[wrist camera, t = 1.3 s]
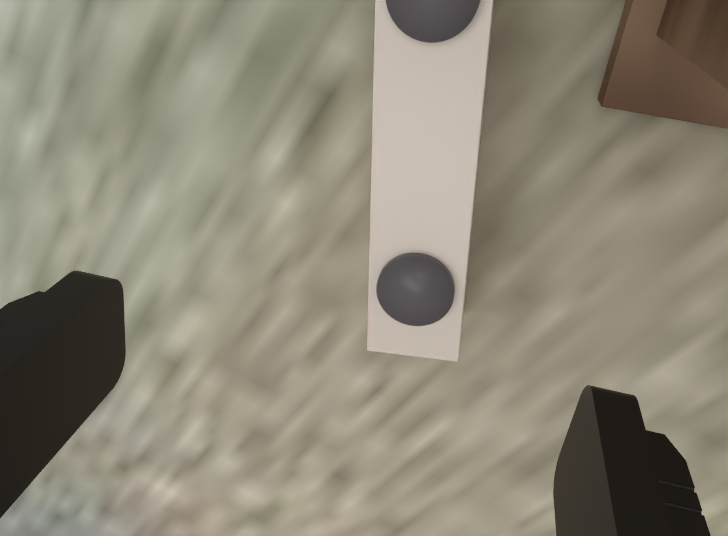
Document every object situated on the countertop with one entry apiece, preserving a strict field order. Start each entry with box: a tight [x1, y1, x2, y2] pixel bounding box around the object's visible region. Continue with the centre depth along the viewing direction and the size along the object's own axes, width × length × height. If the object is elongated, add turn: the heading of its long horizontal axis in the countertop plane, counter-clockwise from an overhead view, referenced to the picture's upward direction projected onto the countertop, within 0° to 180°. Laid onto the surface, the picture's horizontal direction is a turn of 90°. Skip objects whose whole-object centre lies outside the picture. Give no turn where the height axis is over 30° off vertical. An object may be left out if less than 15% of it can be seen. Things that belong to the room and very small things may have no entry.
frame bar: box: [367, 0, 494, 362], centre depth 24 cm, size 16×4×4 cm, turn 179°
